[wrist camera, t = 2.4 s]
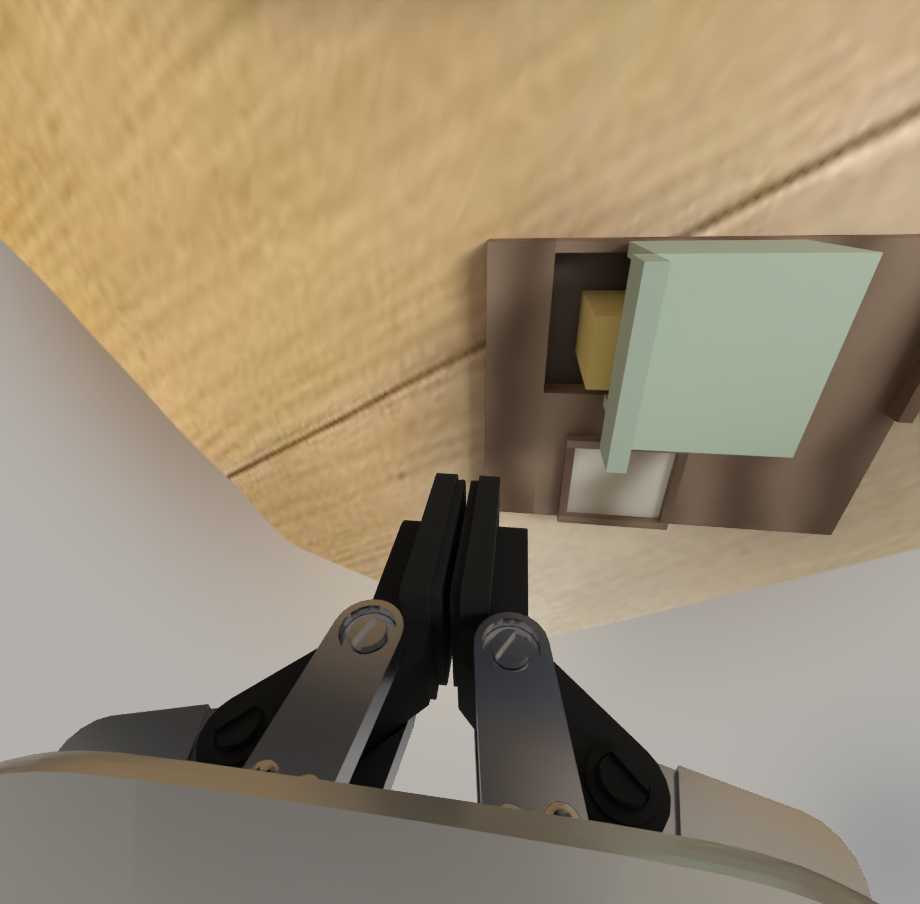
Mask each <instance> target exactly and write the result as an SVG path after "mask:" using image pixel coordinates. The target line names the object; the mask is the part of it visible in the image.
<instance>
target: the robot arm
mask: <svg viewBox="0 0 920 904" xmlns="http://www.w3.org/2000/svg"><path fill="white" fill-rule="evenodd" d="M499 508H500V477H497V476H480V477H479V481H471V484H470V490H469V495H468V500H467V505H466V482H465V480H458V475H457V474H443V473H437V474H436V476H435V480H434V483H433V486H432V489H431V492H430V495H429V498H428V501H427V505H426V508H425V511H424V514H423V517H422V520H421V521H409V520H404V521H403V522H402V524H401V526H400V529H399V532H398V534H397V537H396V540H395V542H394V545H393V547H392V550H391V553H390V555H389V558H388V561H387V563H386V566H385V569H384V571H383V574H382V577H381V579H380V582H379V585H378V587H377V590H376V593H375V595H374V598H373V599H371V600H366V601H361V602H358V603H356V604H354V605H351V606H350V607H349V608H347V609H346V610H344V611H343V612H342V613H341V614H340V615H339V616H338V618H337V619H336V620H335V622H334V623H333V625H332V626H331V628H330V629H329V631H328V633H327V634H326V636H325V637H324V639H323V641H322V642H321V644H320V645H319V647H318V648H317V649H315V650H314V651H312V652H310V653H309V654H307V655H305V656H304V657H302V658H300V659H298V660H297V661H295V662H293V663H292V664H290V665H288V666H286V667H285V668H283V669H281V670H280V671H278V672H276V673H274V674H273V675H271V676H269V677H267V678H266V679H264V680H262V681H261V682H259V683H257V684H256V685H254V686H252V687H250V688H249V689H247V690H245V691H243V692H242V693H240V694H238V695H237V696H235V697H233V698H231V699H230V700H229V701H227V702H226V703H224V704H223V705H222V706H220V707H219V708H215V709H211V708H210V706H209V705H208V704H205V705H196V706H188V707H180V708H172V709H164V710H156V711H147V712H139V713H131V714H122V715H114V716H109V717H105V718H102V719H98V720H96V721H94V722H92V723H90V724H88V725H87V726H85V727H83V728H81V729H80V730H79V731H78V732H76V733H75V734H74V735H73V736H72V737H70V738H69V739H68V740H67V741H66V742H65V743H64V744H63V746H62V747H61V748H60V749H59V751H58V752H49V753H41V754H33V755H29V756H24V757H19V758H15V759H11V760H6V761H3V762H0V904H878V903H877V902H875V901H873V900H872V899H871V895H870V892H869V888H868V885H867V882H866V879H865V877H864V875H863V873H862V871H861V869H860V866H859V864H858V862H857V860H856V858H855V856H854V855H853V854H852V853H851V851H850V850H849V849H848V847H847V846H846V845H845V843H844V842H843V841H842V839H841V838H840V837H839V836H838V835H836V834H835V833H834V832H833V831H832V830H831V829H829V828H828V827H827V826H826V825H825V824H824V823H823V822H822V821H820V820H818V819H816V818H814V817H812V816H810V815H808V814H807V813H805V812H803V811H800V810H798V809H795V808H792V807H790V806H787V805H784V804H781V803H779V802H776V801H773V800H771V799H768V798H765V797H762V796H760V795H757V794H754V793H752V792H749V791H746V790H744V789H741V788H738V787H735V786H733V785H730V784H727V783H724V782H722V781H719V780H717V779H714V778H711V777H708V776H705V775H703V774H700V773H698V772H695V771H692V770H690V769H687V768H684V767H681V766H678V767H677V769H676V770H674V769H671V768H669V767H666V766H663V765H661V764H658V763H657V762H656V761H655V760H654V759H653V758H652V757H651V755H650V754H649V753H648V752H647V751H646V750H645V749H644V748H643V747H642V746H641V745H640V744H639V743H638V742H637V741H636V740H635V739H634V738H633V737H632V736H631V735H630V734H629V733H628V732H626V731H625V730H624V729H623V728H622V727H621V726H620V725H619V724H618V723H617V722H616V721H615V720H614V719H613V718H612V717H611V716H610V715H609V714H608V713H607V712H606V711H605V710H603V708H601V707H600V706H599V705H598V704H597V703H596V702H595V701H594V700H593V699H592V698H591V697H590V696H589V695H588V694H587V693H586V692H585V691H584V690H583V689H582V688H581V687H580V686H579V685H577V684H576V683H575V682H574V681H573V680H572V679H571V678H570V677H569V676H568V675H567V674H566V673H565V672H564V671H563V670H562V669H561V668H560V667H559V666H558V665H557V664H556V663H555V662H554V661H553V657H552V653H551V649H550V644H549V641H548V638H547V636H546V633H545V631H544V630H543V629H542V628H541V626H540V625H539V624H538V623H537V622H535V621H534V620H533V619H531V618H530V617H528V531H527V529H524V528H510V527H499ZM451 659H453V679H454V686H456V687H458V705H459V706H458V707H459V710H460V711H461V712H462V714H463V715H464V716H465V718H466V719H467V720H468V722H469V723H470V724H471V725H472V727H473V728H474V741H475V762H476V786H477V803H473V802H467V801H460V800H453V799H447V798H440V797H433V796H427V795H420V794H413V793H407V792H400V791H393V790H391V788H392V785H393V783H394V780H395V777H396V774H397V771H398V769H399V766H400V763H401V760H402V757H403V755H404V752H405V749H406V746H407V743H408V740H409V738H410V735H411V732H412V729H413V727H414V722H415V717H416V714H417V713H419V712H420V711H421V710H422V709H424V708H425V707H427V706H428V705H429V702H430V699H436V698H437V692H438V687H439V685H447V683H448V677H449V672H450V665H451Z"/></svg>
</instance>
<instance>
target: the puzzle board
mask: <svg viewBox="0 0 920 904" xmlns="http://www.w3.org/2000/svg"><path fill="white" fill-rule="evenodd" d="M798 239H807V240H813V241H818V242H824V243H830V244H836V245H842V246H848V247H854V248H860V249H866V250H872V251H878V252H883V254H882V257H881V259H880V261H879V264H878V266H877V268H876V270H875V273H874V275H873V277H872V279H871V282H870V284H869V286H868V288H867V291H866V293H865V295H864V298H863V300H862V302H861V304H860V307H859V309H858V311H857V313H856V316H855V318H854V320H853V322H852V325H851V327H850V329H849V332H848V334H847V336H846V338H845V341H844V343H843V345H842V347H841V350H840V352H839V354H838V356H837V359H836V361H835V363H834V366H833V368H832V370H831V372H830V375H829V377H828V379H827V381H826V384H825V386H824V388H823V390H822V393H821V395H820V397H819V400H818V402H817V404H816V406H815V409H814V411H813V413H812V415H811V418H810V420H809V422H808V424H807V427H806V429H805V431H804V434H803V436H802V438H801V440H800V443H799V445H798V447H797V449H796V452H795V454H794V456H793V458H788V457H768V456H749V455H729V454H709V453H690V452H670V451H651V450H631V453H630V458H629V463H628V467H627V472H626V473H610V472H606V470H605V467H604V463H603V459H602V456H601V452H600V442H601V436H602V430H603V424H604V418H605V410H604V407H603V401H604V395H605V394H609V390H587V389H586V388H585V385H584V381H583V378H582V374H581V371H580V367H579V363H578V360H577V356H576V353H575V348H576V339H577V331H578V323H579V314H580V306H581V297H582V290H626V287H627V281H628V275H629V269H630V263H631V259H630V258H628V257H627V254H628V248H629V242H630V241H695V240H798ZM919 411H920V234H902V235H809V236H717V237H624V238H531V239H489V240H488V242H487V298H486V397H485V476H497V477H500V508H499V511H503V512H517V513H531V514H545V515H557V520H558V522H567V523H581V524H594V525H608V526H622V527H635V528H649V529H662V530H667V526H668V523H670V524H684V525H698V526H712V527H726V528H740V529H754V530H768V531H782V532H796V533H810V534H824V535H831V534H832V532H833V531H834V529H835V527H836V525H837V523H838V522H839V520H840V518H841V516H842V514H843V513H844V511H845V509H846V507H847V505H848V504H849V502H850V500H851V498H852V496H853V495H854V493H855V491H856V489H857V487H858V486H859V484H860V482H861V480H862V478H863V477H864V475H865V473H866V471H867V469H868V468H869V466H870V464H871V462H872V460H873V459H874V457H875V455H876V453H877V451H878V450H879V448H880V446H881V444H882V442H883V441H884V439H885V437H886V435H887V433H888V432H889V430H890V428H891V426H892V424H893V422H894V421H896V422H903V423H913V421H914V419H915V418H916V416H917V414H918V412H919Z"/></svg>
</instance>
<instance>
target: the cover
mask: <svg viewBox="0 0 920 904" xmlns="http://www.w3.org/2000/svg"><path fill="white" fill-rule="evenodd" d="M882 254H883V252H878V251H872V250H866V249H860V248H854V247H848V246H842V245H836V244H830V243H824V242H818V241H813V240H807V239H798V240H695V241H630V242H629V248H628V254H627V257H628V258H630V259H631V263H630V269H629V275H628V281H627V287H626V293H625V299H624V305H623V311H622V317H621V323H620V329H619V335H618V341H617V347H616V352H615V358H614V364H613V370H612V376H611V382H610V388H609V394H605V395H604V401H603V407H604V410H605V418H604V424H603V430H602V436H601V442H600V452H601V456H602V459H603V463H604V467H605V470H606V472H610V473H626V472H627V467H628V463H629V458H630V453H631V450H651V451H670V452H690V453H709V454H729V455H749V456H768V457H788V458H793V456H794V454H795V452H796V449H797V447H798V445H799V443H800V440H801V438H802V436H803V434H804V431H805V429H806V427H807V424H808V422H809V420H810V418H811V415H812V413H813V411H814V409H815V406H816V404H817V402H818V400H819V397H820V395H821V393H822V390H823V388H824V386H825V384H826V381H827V379H828V377H829V375H830V372H831V370H832V368H833V366H834V363H835V361H836V359H837V356H838V354H839V352H840V350H841V347H842V345H843V343H844V341H845V338H846V336H847V334H848V332H849V329H850V327H851V325H852V322H853V320H854V318H855V316H856V313H857V311H858V309H859V307H860V304H861V302H862V300H863V298H864V295H865V293H866V291H867V288H868V286H869V284H870V282H871V279H872V277H873V275H874V273H875V270H876V268H877V266H878V264H879V261H880V259H881V257H882Z"/></svg>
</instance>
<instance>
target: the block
mask: <svg viewBox="0 0 920 904" xmlns="http://www.w3.org/2000/svg"><path fill="white" fill-rule="evenodd" d="M625 293H626V290H582V297H581V306H580V314H579V323H578V331H577V339H576V348H575V353H576V356H577V360H578V363H579V367H580V371H581V374H582V378H583V381H584V385H585V388H586V389H587V390H609V388H610V382H611V376H612V370H613V364H614V358H615V352H616V347H617V341H618V335H619V329H620V323H621V317H622V311H623V305H624V299H625Z"/></svg>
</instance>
